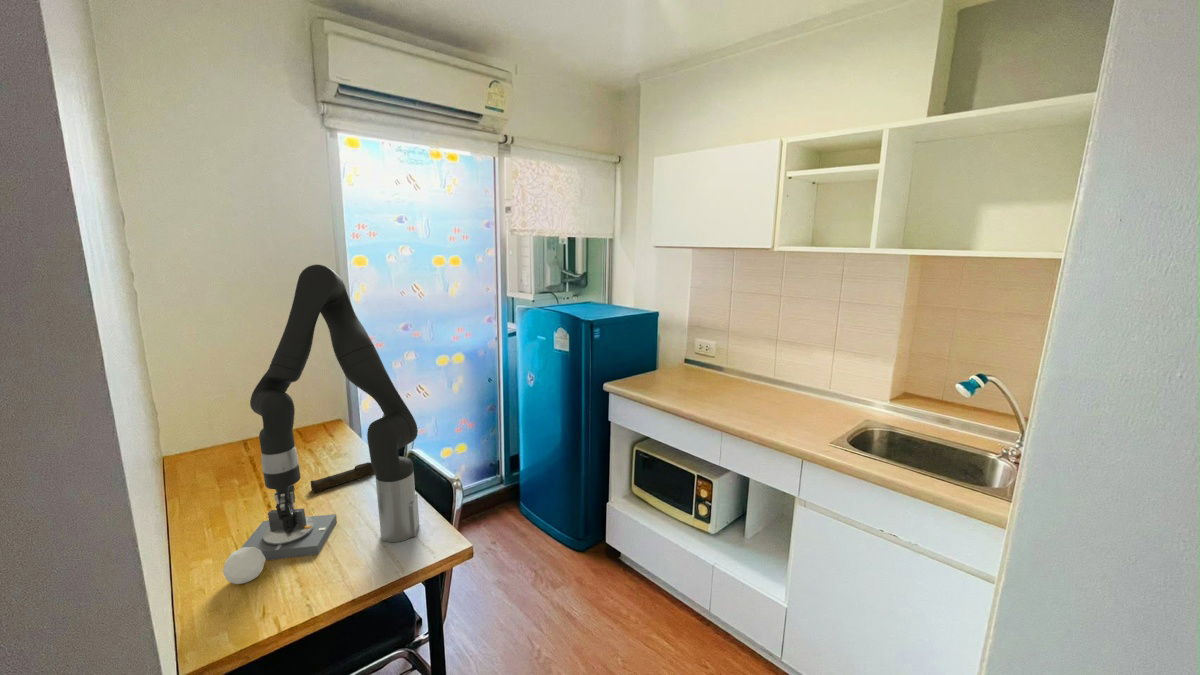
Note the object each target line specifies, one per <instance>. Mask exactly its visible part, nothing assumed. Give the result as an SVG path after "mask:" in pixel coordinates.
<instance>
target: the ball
mask: <svg viewBox="0 0 1200 675" xmlns="http://www.w3.org/2000/svg"><path fill="white" fill-rule="evenodd" d="M241 547H242V546H241ZM241 547H240V548H241ZM240 548H238V549H237V550H235V551H233V552H231V553H230V554H229V556H228V558H226V560H225V562H224V565H223V569H222V573H223V576H224V577H225V580H226V581H227V582H230V583H231V584H234V585H239V584H247V583H249V582H250V581H253V580H254V579H256V578H258V577H259V575H261V572H262V571H263V569H264V566H265V562H266V560H265V557H264V555H263V553H262V551H261V550H259V549H257V548H255V547H242V548H241V549H240Z"/></svg>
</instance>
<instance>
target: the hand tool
mask: <svg viewBox="0 0 1200 675" xmlns="http://www.w3.org/2000/svg"><path fill="white" fill-rule="evenodd" d="M373 474H374V475H375V472H374V469H373V467H372V464H371V462H365V463H362V464H357V465H355V466H354V468H352V469H349V470H347V471H346V470H345V471H343V472H340V473H339V472H338V473H335V474H333V475H330V476H326V477H321V478H319V479H316V480H310V488H311V491H312V493H313V494H317V493H318V492H322V491H323V490H326V489H329V488H332V487H334V486H335V487H336V486H339V485H342V484H344V483H347V482H348V483H349V482H350V481H354V480H358V479H360V480H363V479H365V477H366V478H368V477H370V476H372V475H373Z"/></svg>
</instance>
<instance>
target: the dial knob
mask: <svg viewBox="0 0 1200 675" xmlns="http://www.w3.org/2000/svg"><path fill="white" fill-rule="evenodd" d="M292 512H293V522H294V529H293V530H291V531H287V532H285V531H284V528H283V522H282V520H281V521H280V519H279V515H278V512H277V509H271V510H270V511H268V513H267V517H268V520H269V524H270V526H269V527H268V528H267V529H266V530H265V531H264V533H263V540H264V542H265V543H266V544H269V545H284V544H288V543H291V542H294V541H297V540H299V539H301V538H303V537H305V536H306V535H307V534H309V533H310V532H311V531H312V529H313V527H314V524H313V520H312V519H311V518H309V517H310V516H306V512H305V508H294V509H292Z"/></svg>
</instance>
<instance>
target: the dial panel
mask: <svg viewBox="0 0 1200 675" xmlns="http://www.w3.org/2000/svg"><path fill="white" fill-rule="evenodd" d="M308 517H309V518H311V519H312V520H313V524H314V527H313V529H312V531H311V532H310V533H309V534H307V535H306V536H305V537H303V538H301V539H299V540H297V541H294V542H291V543H288V544H284V545H269V544H266V543H265V542H264V540H263V533H264V531H265V530H266V529H267V528H268V527H269V526H270V524H269V519H268V520H263V521H262V522H261V523H260V524H259V526H258V527H257V528H256V529H255V530H254V532H253V533H252V534H251V535H250V536H249V538H248V539H247V540H246V541H245V542H244V544H243V545H242V546H241V547H240V548H239V549H241V548H242V547H255V548H257V549H259V550H261V551H262V553H263V555H264V557H265V561H273V560H280V559H289V558H299V557H308V556H318V555H320V552H322V550H323V547H324V545H325V544H326V542H327V540H328V538H330V535H331V533H332V531H333V530H334V528H335V526H336V525H337V523H338V521H337V514H336V513H332V514H324V515H322V514H321V515H315V516H314V515H313V516H308Z"/></svg>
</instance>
